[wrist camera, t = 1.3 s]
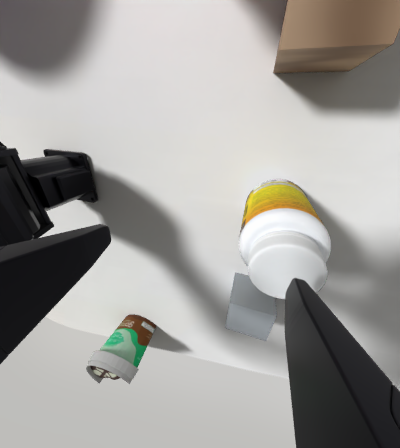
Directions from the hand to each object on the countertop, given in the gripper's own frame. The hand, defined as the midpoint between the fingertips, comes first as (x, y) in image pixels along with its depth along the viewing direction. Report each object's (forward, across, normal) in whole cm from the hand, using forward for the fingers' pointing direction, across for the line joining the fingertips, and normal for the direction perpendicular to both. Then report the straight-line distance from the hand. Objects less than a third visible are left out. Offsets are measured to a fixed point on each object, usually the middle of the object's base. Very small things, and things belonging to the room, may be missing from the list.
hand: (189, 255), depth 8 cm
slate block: (+12, -5, +14) cm, 20 cm away
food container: (+12, +16, +34) cm, 39 cm away
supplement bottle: (+12, -5, +1) cm, 13 cm away
